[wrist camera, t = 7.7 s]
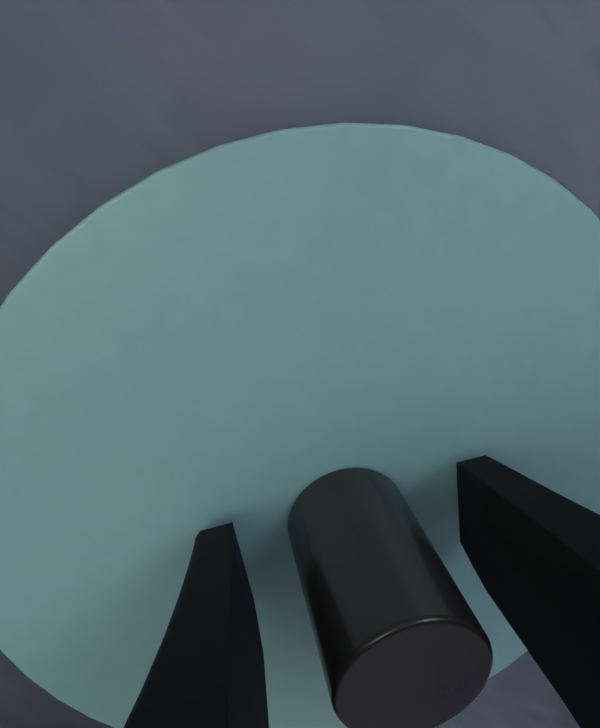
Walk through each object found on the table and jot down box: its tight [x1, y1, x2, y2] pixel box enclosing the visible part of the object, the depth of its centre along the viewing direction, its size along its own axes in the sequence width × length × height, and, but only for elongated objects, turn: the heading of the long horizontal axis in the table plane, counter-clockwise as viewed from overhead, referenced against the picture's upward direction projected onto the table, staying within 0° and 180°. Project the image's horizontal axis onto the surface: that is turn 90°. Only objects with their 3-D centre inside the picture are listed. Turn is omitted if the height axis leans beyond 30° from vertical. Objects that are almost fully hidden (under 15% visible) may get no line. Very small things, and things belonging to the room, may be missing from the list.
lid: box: [0, 122, 600, 728], centre depth 9 cm, size 14×14×5 cm
